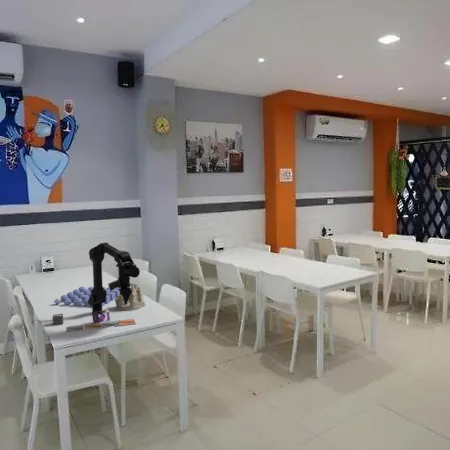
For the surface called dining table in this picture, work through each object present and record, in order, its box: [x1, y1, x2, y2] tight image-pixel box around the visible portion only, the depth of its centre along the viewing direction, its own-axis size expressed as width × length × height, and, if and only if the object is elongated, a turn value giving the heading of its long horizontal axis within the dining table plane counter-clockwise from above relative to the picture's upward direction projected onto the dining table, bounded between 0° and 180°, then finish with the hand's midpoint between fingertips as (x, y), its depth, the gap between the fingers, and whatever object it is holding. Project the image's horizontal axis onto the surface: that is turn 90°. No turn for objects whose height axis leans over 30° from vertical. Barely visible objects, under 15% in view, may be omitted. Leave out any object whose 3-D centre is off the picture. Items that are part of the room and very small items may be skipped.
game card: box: [91, 309, 111, 324], centre depth 237 cm, size 7×5×9 cm
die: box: [52, 313, 64, 326], centre depth 234 cm, size 5×5×5 cm
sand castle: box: [114, 285, 146, 312], centre depth 264 cm, size 16×16×15 cm
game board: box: [65, 318, 136, 333], centre depth 230 cm, size 9×36×1 cm, turn 108°
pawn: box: [121, 296, 130, 307], centre depth 233 cm, size 5×5×7 cm
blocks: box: [53, 286, 120, 308], centre depth 285 cm, size 35×34×5 cm
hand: (125, 303), depth 233 cm, fingers closed on pawn, 4 cm apart
